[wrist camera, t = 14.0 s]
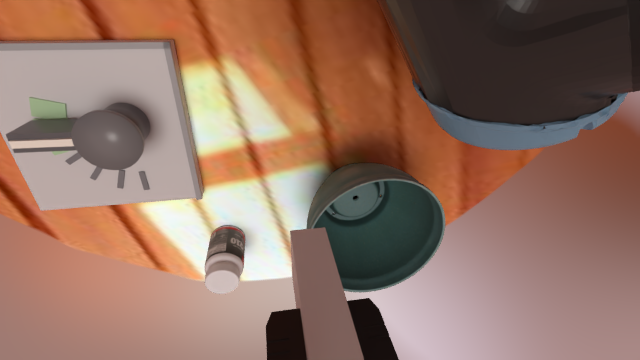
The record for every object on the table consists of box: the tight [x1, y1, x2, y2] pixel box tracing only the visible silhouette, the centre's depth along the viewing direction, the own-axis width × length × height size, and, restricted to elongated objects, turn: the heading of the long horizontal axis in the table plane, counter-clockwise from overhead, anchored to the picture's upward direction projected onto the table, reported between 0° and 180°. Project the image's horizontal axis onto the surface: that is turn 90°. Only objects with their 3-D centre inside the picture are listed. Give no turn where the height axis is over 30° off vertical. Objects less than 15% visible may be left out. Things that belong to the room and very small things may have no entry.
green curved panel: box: [29, 97, 150, 190], centre depth 35 cm, size 11×9×1 cm
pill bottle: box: [205, 226, 245, 294], centre depth 42 cm, size 5×5×8 cm
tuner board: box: [0, 40, 204, 211], centre depth 35 cm, size 18×18×2 cm
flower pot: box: [307, 163, 445, 292], centre depth 41 cm, size 16×16×11 cm
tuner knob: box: [5, 103, 150, 170], centre depth 31 cm, size 11×6×5 cm, turn 88°
